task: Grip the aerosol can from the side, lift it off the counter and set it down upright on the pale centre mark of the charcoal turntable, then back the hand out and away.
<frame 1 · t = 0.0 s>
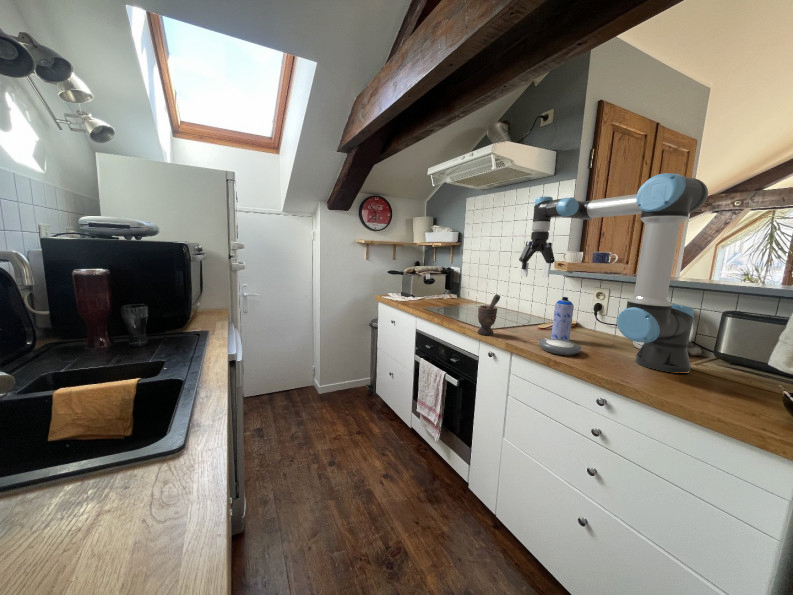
hand: (535, 276, 147), 28 cm above the worktop, tool pointing down, fingers open, 13 cm apart
mortar and pestle: (488, 335, 145), on the worktop
aerosol can: (559, 340, 141), on the worktop
turntable base: (558, 350, 125), on the worktop
turntable: (559, 345, 124), point 2 cm above the worktop, hinge at 0.0°
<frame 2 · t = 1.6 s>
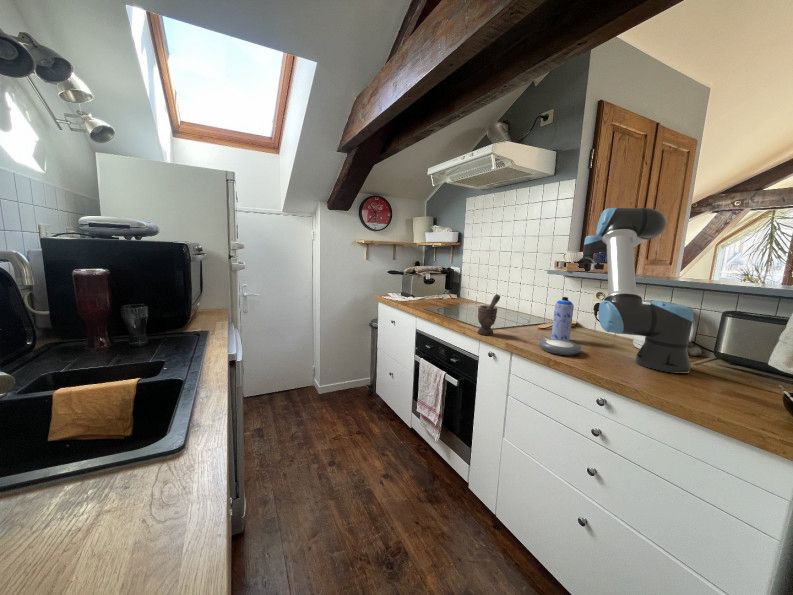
hand: (575, 265, 144), 34 cm above the worktop, tool horizontal, fingers open, 13 cm apart
nothing on the worktop moved.
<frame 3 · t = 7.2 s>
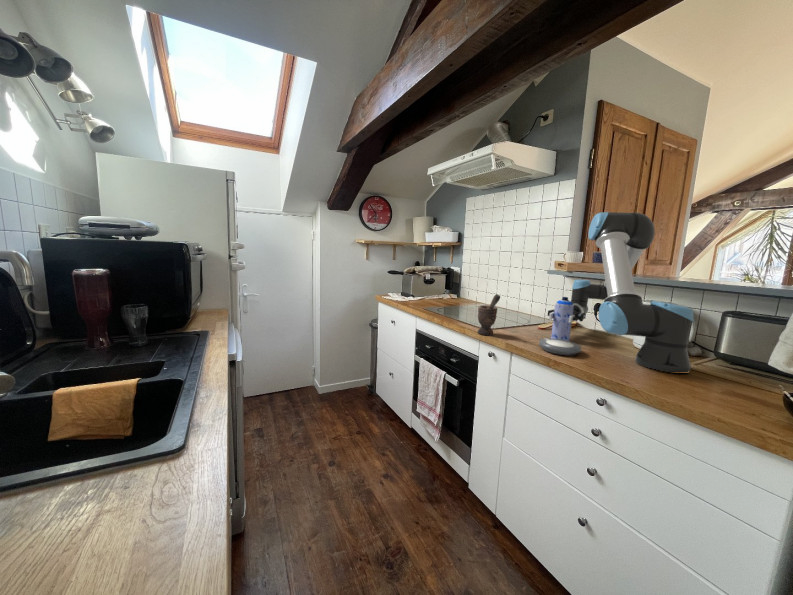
hand: (559, 318, 136), 11 cm above the worktop, tool horizontal, fingers closed on aerosol can, 7 cm apart
aerosol can: (559, 340, 141), on the worktop, touching gripper
everything else where it was.
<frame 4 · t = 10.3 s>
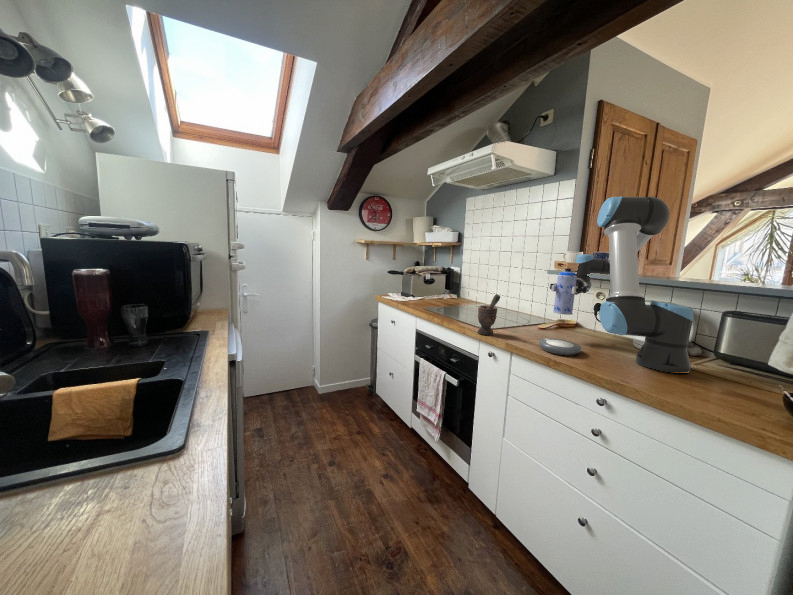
hand: (562, 289, 133), 24 cm above the worktop, tool horizontal, fingers closed on aerosol can, 7 cm apart
aerosol can: (562, 313, 138), point 13 cm above the worktop, touching gripper
everything else where it was.
when the fingers open (16 cm above the worktop, at t = 13.7 s): aerosol can drops 2 cm, resting on turntable.
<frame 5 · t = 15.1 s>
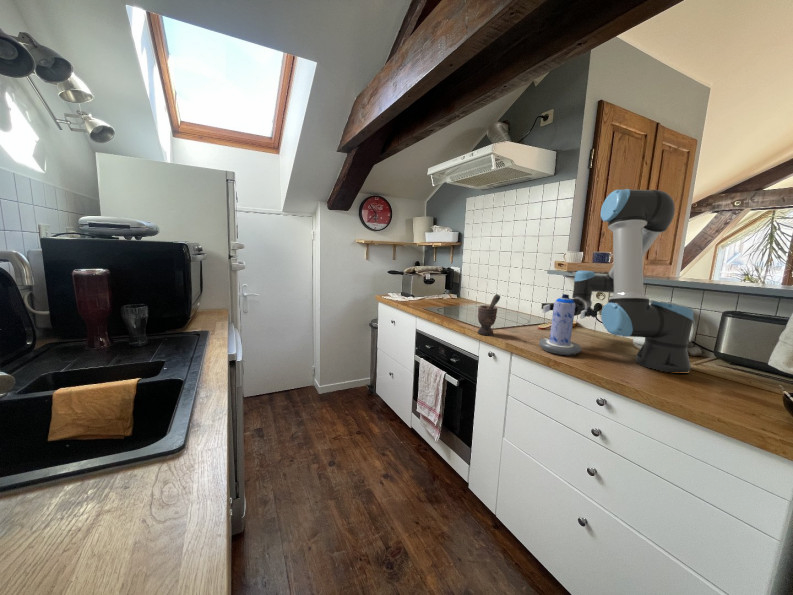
hand: (562, 312, 121), 16 cm above the worktop, tool horizontal, fingers open, 13 cm apart
aerosol can: (559, 343, 124), point 3 cm above the worktop, touching turntable
turntable: (559, 345, 124), point 2 cm above the worktop, hinge at 0.0°, touching aerosol can
everything else where it was.
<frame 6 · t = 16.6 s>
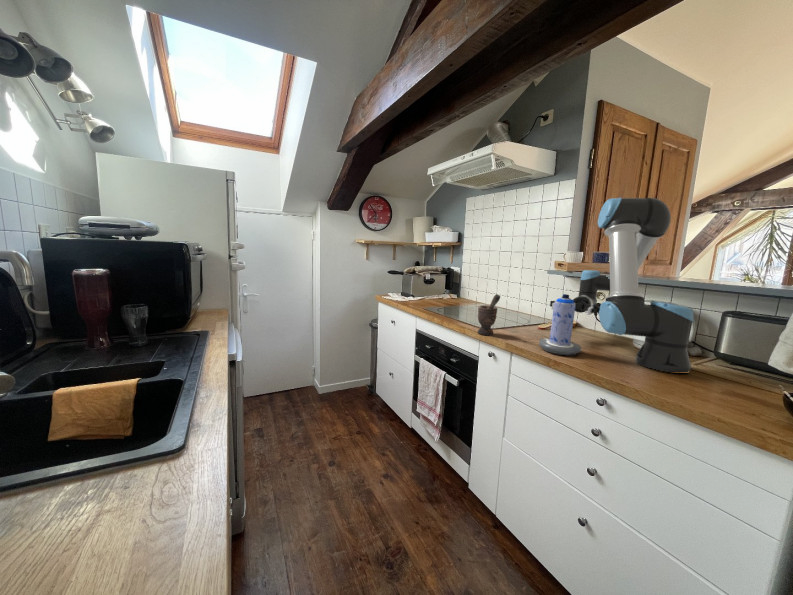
hand: (570, 309, 129), 16 cm above the worktop, tool horizontal, fingers open, 13 cm apart
nothing on the worktop moved.
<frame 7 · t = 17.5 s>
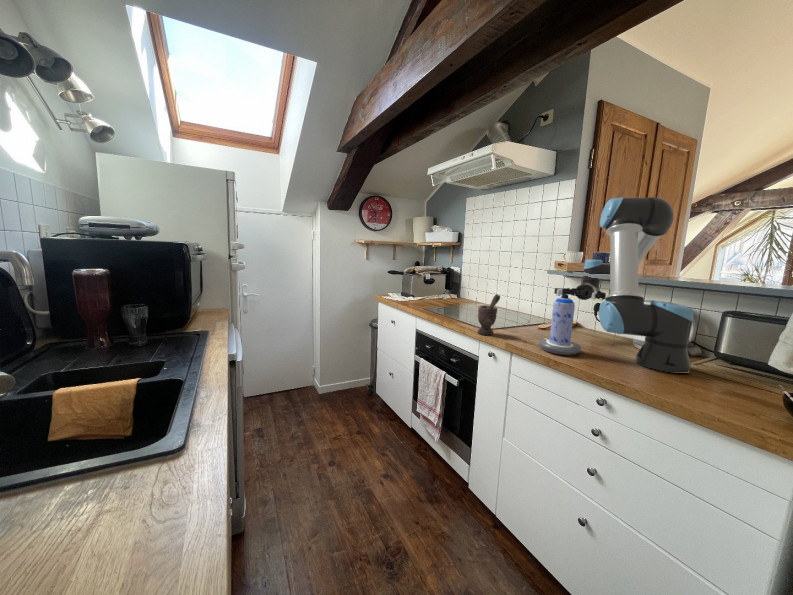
hand: (574, 294, 133), 22 cm above the worktop, tool horizontal, fingers open, 13 cm apart
nothing on the worktop moved.
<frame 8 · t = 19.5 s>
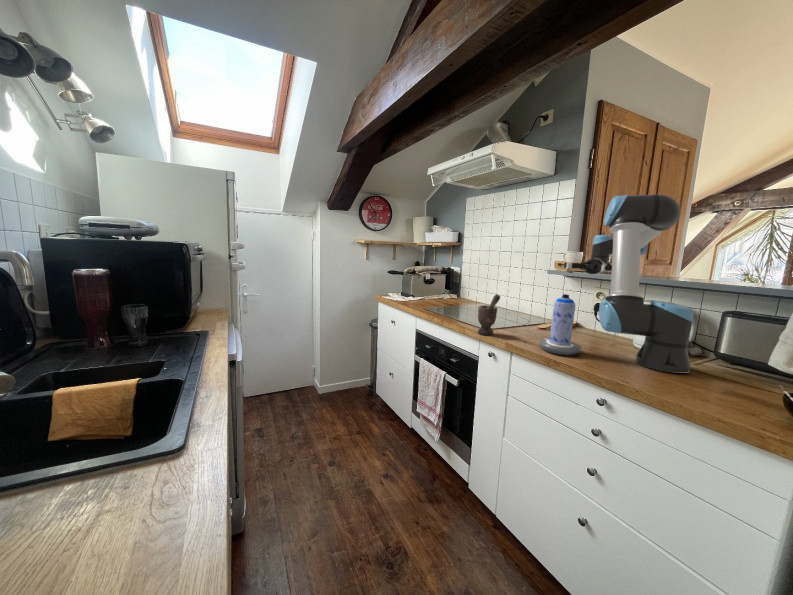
hand: (584, 266, 135), 34 cm above the worktop, tool horizontal, fingers open, 13 cm apart
nothing on the worktop moved.
at the end: aerosol can 0.2 cm off-centre on the turntable, point 3.0 cm above the turntable's base; aerosol can tilted 0°; the gripper is holding nothing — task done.
